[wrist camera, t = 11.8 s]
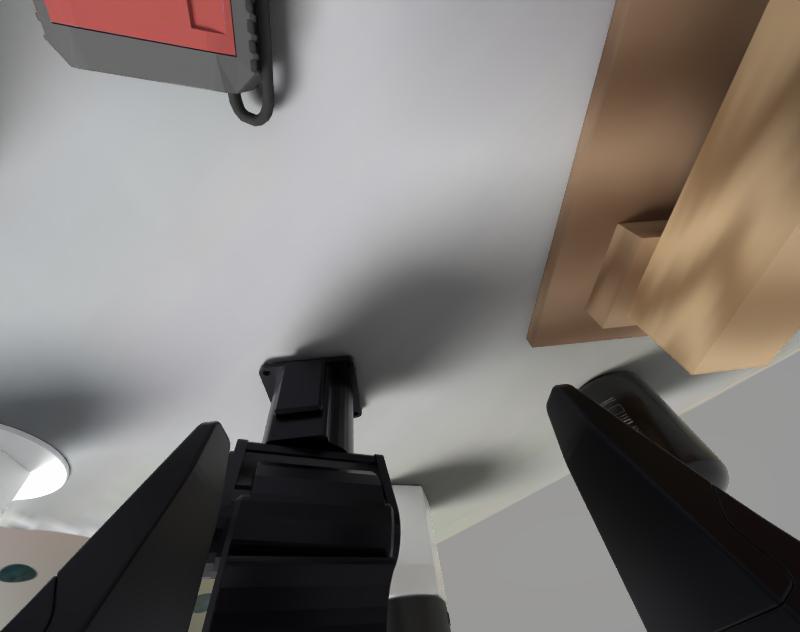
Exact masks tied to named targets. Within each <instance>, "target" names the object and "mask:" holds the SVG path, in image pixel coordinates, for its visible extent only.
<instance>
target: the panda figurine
mask: <svg viewBox="0 0 800 632" xmlns="http://www.w3.org/2000/svg"><path fill="white" fill-rule="evenodd" d="M68 476H69V466H68V463H67V462H66V460H65V459H64V457H63V456H62V455H61V454H60V453H59V452H58V451H57V450H55V449H54V448H53V447H51V446H50V445H49V444H47V443H45V442H44V441H42V440H40V439H38V438H36V437H34V436H32V435H30V434H28V433H25V432H23V431H21V430H18V429H15V428H12V427H9V426H6V425H3V424H0V518H1V516H2V515H3V513H4V512H5V510H6V509H7V507H8V506H9V505H10V503H11V502H12V500H22V499H30V498H36V497H40V496H44V495H47V494H50V493H52V492H54V491H56V490H57V489H59V488H60V487H61V486H62V485H63V484H64V483H65V481H66V480H67V478H68Z"/></svg>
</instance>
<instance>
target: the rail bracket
mask: <svg viewBox="0 0 800 632" xmlns="http://www.w3.org/2000/svg"><path fill="white" fill-rule="evenodd" d="M768 3H769V0H616V4H615V8H614V12H613V15H612V19H611V23H610V27H609V30H608V34H607V38H606V42H605V46H604V49H603V53H602V57H601V61H600V64H599V68H598V72H597V76H596V79H595V83H594V87H593V91H592V94H591V98H590V102H589V106H588V109H587V113H586V117H585V121H584V124H583V128H582V132H581V136H580V139H579V143H578V147H577V151H576V154H575V158H574V162H573V166H572V169H571V173H570V177H569V181H568V185H567V188H566V192H565V196H564V200H563V203H562V207H561V211H560V215H559V218H558V222H557V226H556V230H555V233H554V237H553V241H552V245H551V248H550V252H549V256H548V260H547V263H546V267H545V271H544V275H543V278H542V282H541V286H540V290H539V293H538V297H537V301H536V305H535V308H534V312H533V316H532V320H531V323H530V327H529V331H528V335H527V340H528V342H529V343H530V345H531V346H532V348H533V347H542V346H552V345H562V344H572V343H581V342H591V341H601V340H611V339H620V338H630V337H640V336H648V335H647V334H646V333H645V332H644V331H643V330H642V329H641V328H639V327H638V326H637V325H636V324H635V323H634V322H633V321H632V320H631V319H630V318H628V317H627V316H626V315H625V314H626V312H627V309H628V307H629V305H630V303H631V301H632V299H633V296H634V294H635V292H636V290H637V288H638V286H639V283H640V281H641V279H642V277H643V275H644V272H645V270H646V268H647V266H648V264H649V262H650V259H651V257H652V255H653V253H654V251H655V249H656V246H657V244H658V242H659V240H660V238H661V235H662V233H663V231H664V229H665V227H666V225H667V222H668V220H669V218H670V216H671V214H672V212H673V209H674V207H675V205H676V203H677V201H678V198H679V196H680V194H681V192H682V190H683V188H684V185H685V183H686V181H687V179H688V177H689V175H690V172H691V170H692V168H693V166H694V164H695V161H696V159H697V157H698V155H699V153H700V151H701V148H702V146H703V144H704V142H705V140H706V138H707V135H708V133H709V131H710V129H711V127H712V124H713V122H714V120H715V118H716V116H717V114H718V111H719V109H720V107H721V105H722V103H723V101H724V98H725V96H726V94H727V92H728V90H729V87H730V85H731V83H732V81H733V79H734V77H735V74H736V72H737V70H738V68H739V66H740V64H741V61H742V59H743V57H744V55H745V53H746V50H747V48H748V46H749V44H750V42H751V40H752V37H753V35H754V33H755V31H756V29H757V27H758V24H759V22H760V20H761V18H762V16H763V13H764V11H765V9H766V7H767V5H768Z"/></svg>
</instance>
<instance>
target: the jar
mask: <svg viewBox="0 0 800 632" xmlns="http://www.w3.org/2000/svg"><path fill="white" fill-rule="evenodd" d="M392 488H393V492H394V495H395V499H396V502H397V506H398V510H399V515H400V524H401V539H400V549H399V556H398V560H397V564H396V567H395V569H394V572H393V576H392V581H391V585H390V593H389V601H388V612H387V632H451V630H450V619H449V613H448V612H447V607H446V604H447V602H446V597H445V591H444V585H443V579H442V574H441V569H440V563H439V557H438V552H437V546H436V540H435V535H434V529H433V523H432V518H431V512H430V507H429V503H428V501H427V498H426V496H425V494H424V491H423V489H422V487H421V486H412V485H392Z"/></svg>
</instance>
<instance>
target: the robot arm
mask: <svg viewBox="0 0 800 632" xmlns="http://www.w3.org/2000/svg"><path fill="white" fill-rule="evenodd" d="M346 362H348V364H347V363H346ZM267 371H269V372H267ZM259 374H260V377H261V379H262V382H263V384H264V387H265V389H266V392H267V394H268V397H269V399H270V402H271V407H270V411H269V415H268V419H267V424H266V428H265V432H264V437H263V441H262V443H256V442H248V440H244V439H238V441H237V444H236V447H235V450H234V451H230V441H229V438H228V436H227V434H226V432H225V430H224V429H223V427H222V425H221V423H220V422H218V421H213V422H204V423H201V424H200V425H198V426H197V427H196V428H195V430H194V431H193V432H192V433H191V434H190V435H189V436H188V437H187V438H186V439H185V440H184V441H183V442H182V443H181V444H180V445H179V446H178V447H177V448H176V449H175V450H174V451H173V452H172V454H171V455H170V456H169V457H168V458H167V459H166V460H165V461H164V462H163V463H162V464H161V465H160V466H159V467H158V468H157V469H156V470H155V471H154V472H153V473H152V474H151V475H150V476H149V478H148V479H147V480H146V481H145V482H144V483H143V484H142V485H141V486H140V487H139V488H138V489H137V490H136V491H135V492H134V493H133V494H132V495H131V496H130V497H129V498H128V499H127V500H126V502H125V503H124V504H123V505H122V506H121V507H120V508H119V509H118V510H117V511H116V512H115V513H114V514H113V515H112V516H111V517H110V518H109V519H108V520H107V521H106V522H105V523H104V524H103V526H102V527H101V528H100V529H99V530H98V531H97V532H96V533H95V534H94V535H93V536H92V537H91V538H90V539H89V540H88V541H87V542H86V543H85V544H84V545H83V546H82V548H81V549H80V550H79V551H78V552H77V553H76V554H75V555H74V556H73V557H72V558H71V559H70V560H69V561H68V562H67V563H66V564H65V565H64V566H63V567H62V568H61V569H60V570H59V571H58V573H57V576H54V577H53V578H52V579H51V580H50V581H49V582H48V583H47V584H46V585H45V586H44V587H43V588H42V589H41V590H40V591H39V592H38V593H37V594H36V595H35V597H33V598H32V599H31V601H29V602H28V603H27V605H25V607H24V608H23V609H22V610H21V611H20V612H19V613H18V614H17V615H16V616H15V617H14V618H13V619H12V620H11V621H10V622H9V623H8V624H7V625H6V626H5V627H4V628H3V629H2V630H1V631H0V632H188V629H189V625H190V621H191V618H192V614H193V610H194V606H195V603H196V599H197V595H198V591H199V587H200V584H201V580H202V579H215V582H214V586H213V590H212V594H211V598H210V602H209V605H208V609H207V613H206V617H205V621H204V625H203V629H202V632H387V612H388V601H389V593H390V585H391V581H392V576H393V572H394V569H395V567H396V564H397V560H398V556H399V549H400V539H401V524H400V515H399V510H398V506H397V502H396V499H395V495H394V492H393V488H392V485H391V481H390V477H389V474H388V470H387V467H386V463H385V460H384V456H383V455H378V454H374V456H373V455H364V454H355V453H353V418H357V417H359V416H361V415H362V408H361V402H360V395H359V388H358V382H357V375H356V368H355V362H354V359H353V358H352V357H351V356H340V357H330V358H320V359H310V360H300V361H290V362H280V363H270V364H264V365H262V366H261V368H260V371H259ZM546 407H547V413H548V416H549V418H550V421H551V424H552V427H553V429H554V432H555V435H556V438H557V440H558V443H559V446H560V449H561V451H562V454H563V457H564V459H565V462H566V464H567V466H568V469H569V471H570V473H571V475H572V477H573V479H574V481H575V483H576V485H577V487H578V490H579V492H580V494H581V496H582V498H583V500H584V502H585V504H586V506H587V508H588V510H589V512H590V514H591V516H592V518H593V521H594V523H595V524H596V527H597V528H598V531H599V533H600V535H601V537H602V539H603V541H604V543H605V545H606V547H607V549H608V551H609V553H610V556H611V558H612V560H613V562H614V564H615V566H616V568H617V570H618V572H619V574H620V576H621V578H622V580H623V582H624V585H625V587H626V589H627V591H628V593H629V595H630V597H631V599H632V601H633V603H634V605H635V607H636V609H637V611H638V614H639V616H640V618H641V620H642V622H643V624H644V626H645V628H646V630H647V632H800V541H799V540H797V539H796V538H794V537H792V536H791V535H789V534H788V533H786V532H785V531H783V530H781V529H780V528H778V527H777V526H775V525H773V524H772V523H770V522H769V521H767V520H766V519H764V518H762V517H761V516H760V515H758V514H757V513H755V512H754V511H752V510H751V509H749V508H748V507H746V506H745V505H743V504H742V503H740V502H739V501H737V500H736V499H734V498H733V497H731V496H730V495H729V494H727V493H726V492H724V491H723V490H721V489H720V488H719V487H717V486H716V485H712V484H711V482H710V481H708V480H707V479H705V478H704V477H703V476H701V475H700V474H698V473H697V472H695V471H694V470H692V469H691V468H690V467H688V466H687V465H685V464H684V463H682V462H681V461H680V460H678V459H677V458H675V457H674V456H672V455H671V454H670V453H668V452H667V451H665V450H664V449H662V448H661V447H659V446H658V445H657V444H655V443H654V442H652V441H651V440H649V439H648V438H647V437H645V436H644V435H642V434H641V433H639V432H638V431H636V430H635V429H634V428H632V427H631V426H629V425H628V424H626V423H625V422H624V421H622V420H621V419H619V418H618V417H616V416H615V415H613V414H612V413H611V412H609V411H608V410H606V409H605V408H603V407H602V406H601V405H599V404H598V403H596V402H595V401H593V400H592V399H590V398H589V397H588V396H586V395H585V394H583V393H582V392H580V391H579V390H578V389H576V388H575V387H573V386H572V385H569V384H562V385H555V386H554V387H553V388H552V391H551V394H550V396H549V399H548V401H547V406H546ZM229 451H230V453H229Z"/></svg>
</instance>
